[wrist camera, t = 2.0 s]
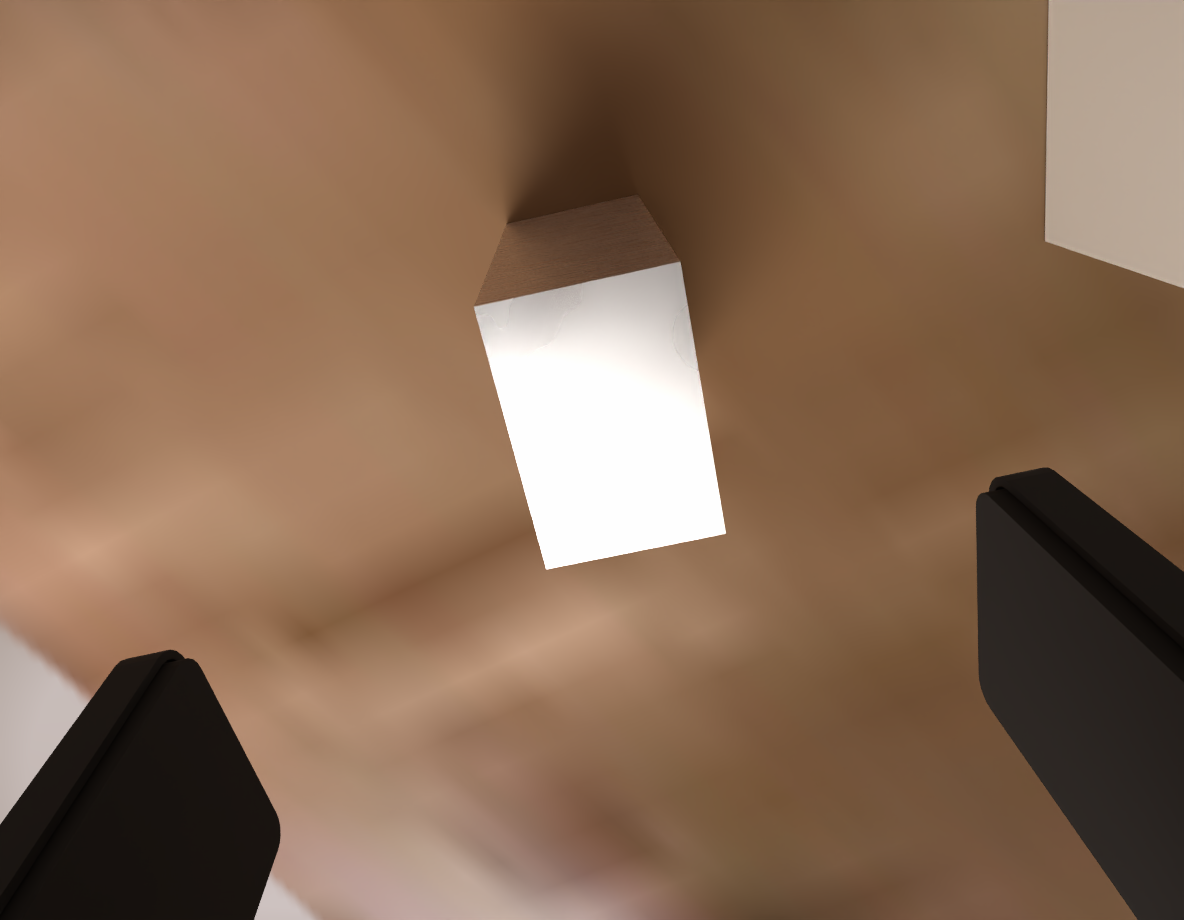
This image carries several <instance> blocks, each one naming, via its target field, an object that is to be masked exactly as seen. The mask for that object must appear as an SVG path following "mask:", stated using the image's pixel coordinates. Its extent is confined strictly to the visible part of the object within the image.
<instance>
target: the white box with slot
mask: <svg viewBox="0 0 1184 920" xmlns="http://www.w3.org/2000/svg"><path fill="white" fill-rule="evenodd" d="M1045 241H1046V242H1049V243H1052V244H1055V245H1058V246H1061V247H1064V248H1067V249H1070V250H1073V251H1076V252H1078V253H1081V254H1084V255H1087V256H1090V257H1093V258H1096V259H1099V260H1102V261H1105V262H1108V263H1111V264H1114V265H1117V266H1120V267H1123V268H1126V269H1129V270H1132V271H1135V272H1138V273H1140V274H1143V275H1146V276H1149V277H1152V278H1155V279H1158V280H1161V281H1164V282H1167V283H1170V284H1173V285H1176V286H1179V287H1182V288H1184V0H1049V15H1048V78H1047V141H1046V204H1045Z"/></svg>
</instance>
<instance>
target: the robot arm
mask: <svg viewBox="0 0 1184 920" xmlns="http://www.w3.org/2000/svg"><path fill="white" fill-rule="evenodd" d="M976 536H977V598H978V659H979V681H980V685H981V689H982V692H983V695H984V697H985V699H986V702H987V704H988V705H989V707H990V709H991V710H992V712H993V713H994V714H995V716H996V717H997V719H998V720H999V722H1000V723H1001V724H1002V726H1003V727H1004V729H1005V730H1006V732H1007V733H1008V734H1009V736H1010V737H1011V739H1012V740H1013V742H1014V743H1015V745H1016V746H1017V747H1018V749H1019V750H1020V752H1021V753H1022V755H1023V756H1024V757H1025V759H1026V760H1027V762H1028V763H1029V765H1030V766H1031V767H1032V769H1033V770H1034V772H1035V773H1036V775H1037V776H1038V777H1039V779H1040V780H1041V782H1042V783H1043V785H1044V786H1045V787H1046V789H1047V790H1048V792H1049V793H1050V795H1051V796H1052V797H1053V799H1054V800H1055V802H1056V803H1057V805H1058V806H1059V807H1060V809H1061V810H1062V812H1063V813H1064V815H1065V816H1066V817H1067V819H1068V820H1069V822H1070V823H1071V825H1072V826H1073V827H1074V829H1075V830H1076V832H1077V833H1078V835H1079V836H1080V837H1081V839H1082V840H1083V842H1084V843H1085V845H1086V846H1087V848H1088V849H1089V850H1090V852H1091V853H1092V855H1093V856H1094V858H1095V859H1096V860H1097V862H1098V863H1099V865H1100V866H1101V868H1102V869H1103V870H1104V872H1105V873H1106V875H1107V876H1108V878H1109V879H1110V880H1111V882H1112V883H1113V885H1114V886H1115V888H1116V889H1117V890H1118V892H1119V893H1120V895H1121V896H1122V898H1123V899H1124V900H1125V902H1126V903H1127V905H1128V906H1129V908H1130V909H1131V910H1132V912H1133V913H1134V915H1135V916H1136V918H1137V919H1138V920H1184V572H1183V571H1182V570H1180V569H1179V568H1178V567H1177V566H1175V565H1174V564H1173V563H1172V562H1170V561H1169V560H1168V559H1166V558H1165V557H1164V556H1163V555H1161V554H1160V553H1159V552H1157V551H1156V550H1155V549H1154V548H1152V547H1151V546H1150V545H1149V544H1147V543H1146V542H1145V541H1143V540H1142V539H1141V538H1140V537H1138V536H1137V535H1136V534H1134V533H1133V532H1132V531H1131V530H1129V529H1128V528H1127V527H1126V526H1124V525H1123V524H1122V523H1120V522H1119V521H1118V520H1117V519H1115V518H1114V517H1113V516H1112V515H1110V514H1109V513H1108V512H1106V511H1105V510H1104V509H1103V508H1101V507H1100V506H1099V505H1097V504H1096V503H1095V502H1094V501H1092V500H1091V499H1090V498H1089V497H1087V496H1086V495H1085V494H1083V493H1082V492H1081V491H1080V490H1078V489H1077V488H1076V487H1074V486H1073V485H1072V484H1071V483H1069V482H1068V481H1067V480H1066V479H1064V478H1063V477H1062V476H1060V475H1059V474H1058V473H1057V472H1055V471H1054V470H1052V469H1050V468H1039V469H1034V470H1029V471H1025V472H1020V473H1015V474H1010V475H1005V476H1001V477H996V478H995V479H994V480H993V481H992V482H991V485H990V488H989V492H986V493H981V494H980V495H979V496H978V498H977V501H976ZM279 844H280V823H279V819H278V816H277V814H276V811H275V810H274V808H273V806H272V804H271V802H270V800H269V798H268V796H267V794H266V792H265V790H264V788H263V786H262V785H261V783H260V781H259V779H258V777H257V775H256V773H255V771H254V769H253V767H252V765H251V763H250V761H249V760H248V758H247V756H246V754H245V752H244V750H243V748H242V746H241V744H240V742H239V740H238V738H237V736H236V734H235V733H234V731H233V729H232V727H231V725H230V723H229V721H228V719H227V717H226V715H225V713H224V711H223V709H222V708H221V706H220V704H219V702H218V700H217V698H216V696H215V694H214V692H213V690H212V688H211V686H210V684H209V683H208V681H207V679H206V677H205V675H204V673H203V671H202V669H201V667H200V666H199V664H198V663H197V662H196V661H194V660H193V659H189V658H187V659H185V658H184V657H183V656H182V655H181V654H180V653H178V652H177V651H174V650H166V651H162V652H157V653H152V654H147V655H142V656H138V657H133V658H128V659H125V660H122V661H120V662H119V663H118V664H117V665H116V666H115V667H114V669H113V670H112V671H111V673H110V674H109V675H108V677H107V678H106V680H105V681H104V682H103V684H102V685H101V686H100V688H99V689H98V691H97V692H96V693H95V695H94V696H93V698H92V699H91V700H90V702H89V703H88V704H87V706H86V707H85V709H84V710H83V711H82V713H81V714H80V716H79V717H78V719H77V720H76V721H75V722H74V724H73V725H72V727H71V728H70V729H69V731H68V732H67V733H66V735H65V736H64V738H63V739H62V740H61V742H60V743H59V744H58V746H57V747H56V749H55V750H54V751H53V753H52V754H51V755H50V757H49V758H48V760H47V761H46V762H45V764H44V765H43V766H42V768H41V769H40V771H39V772H38V773H37V775H36V776H35V778H34V779H33V780H32V782H31V783H30V785H29V786H28V787H27V789H26V790H25V791H24V793H23V794H22V795H21V797H20V798H19V800H18V801H17V802H16V804H15V805H14V806H13V808H12V809H11V811H10V812H9V813H8V815H7V816H6V817H5V819H4V820H3V822H2V823H1V824H0V920H254V917H255V915H256V912H257V909H258V906H259V903H260V900H261V897H262V894H263V892H264V889H265V886H266V883H267V880H268V877H269V874H270V871H271V868H272V866H273V863H274V860H275V857H276V854H277V851H278V848H279Z"/></svg>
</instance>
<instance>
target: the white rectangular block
mask: <svg viewBox="0 0 1184 920" xmlns="http://www.w3.org/2000/svg"><path fill="white" fill-rule="evenodd" d="M474 309H475V313H476V316H477V320H478V324H479V327H480V331H481V334H482V338H483V342H484V345H485V349H486V352H487V356H488V360H489V363H490V367H491V371H492V374H493V378H494V381H495V385H496V389H497V392H498V396H499V400H500V403H501V407H502V410H503V414H504V418H505V421H506V425H507V428H508V432H509V436H510V439H511V443H512V447H513V450H514V454H515V457H516V461H517V465H518V468H519V472H520V476H521V479H522V483H523V486H524V490H525V494H526V497H527V501H528V504H529V508H530V512H531V515H532V519H533V523H534V526H535V530H536V533H537V537H538V541H539V544H540V548H541V551H542V555H543V559H544V562H545V566H546V569H550V568H555V567H560V566H565V565H570V564H575V563H580V562H585V561H590V560H595V559H600V558H605V557H610V556H615V555H620V554H625V553H630V552H635V551H640V550H645V549H650V548H656V547H661V546H666V545H671V544H676V543H681V542H686V541H691V540H696V539H701V538H706V537H711V536H716V535H721V534H726V532H725V526H724V520H723V514H722V508H721V502H720V496H719V490H718V484H717V478H716V472H715V466H714V460H713V454H712V448H711V442H710V436H709V430H708V424H707V418H706V412H705V406H704V400H703V394H702V388H701V382H700V376H699V370H698V364H697V358H696V352H695V346H694V340H693V334H692V328H691V322H690V316H689V310H688V304H687V298H686V292H685V286H684V280H683V274H682V268H681V262H680V260H679V259H678V257H677V256H676V254H675V252H674V251H673V249H672V248H671V246H670V245H669V243H668V241H667V240H666V238H665V237H664V235H663V233H662V232H661V230H660V229H659V227H658V226H657V224H656V222H655V221H654V219H653V218H652V216H651V215H650V213H649V211H648V210H647V208H646V207H645V205H644V204H643V202H642V200H641V199H640V197H639V196H638V195H633V196H629V197H624V198H620V199H615V200H611V201H606V202H602V203H598V204H593V205H589V206H584V207H580V208H575V209H571V210H566V211H562V212H557V213H553V214H549V215H544V216H540V217H535V218H531V219H526V220H522V221H517V222H513V223H509V224H506V227H505V229H504V232H503V234H502V237H501V240H500V242H499V245H498V247H497V250H496V252H495V255H494V257H493V260H492V262H491V265H490V267H489V270H488V272H487V275H486V278H485V280H484V283H483V285H482V288H481V290H480V293H479V295H478V298H477V300H476V303H475V305H474Z"/></svg>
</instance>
